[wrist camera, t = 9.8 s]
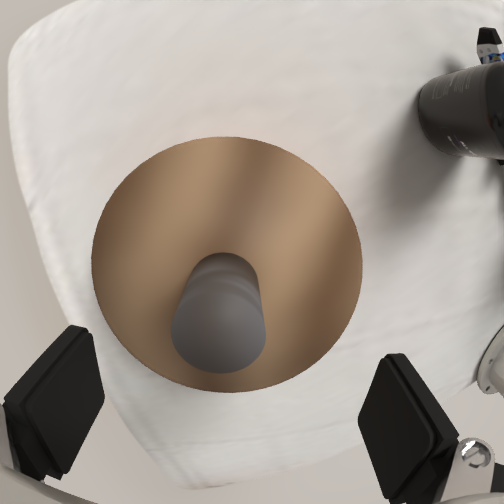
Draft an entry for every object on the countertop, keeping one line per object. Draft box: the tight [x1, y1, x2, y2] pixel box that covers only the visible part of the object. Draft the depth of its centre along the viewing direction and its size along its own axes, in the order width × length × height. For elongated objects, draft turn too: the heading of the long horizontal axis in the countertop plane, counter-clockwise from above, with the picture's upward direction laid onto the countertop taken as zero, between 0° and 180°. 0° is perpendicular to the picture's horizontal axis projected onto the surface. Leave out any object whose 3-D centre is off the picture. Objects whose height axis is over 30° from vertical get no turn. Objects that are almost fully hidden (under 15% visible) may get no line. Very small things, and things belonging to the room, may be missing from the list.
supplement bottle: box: [418, 61, 504, 160], centre depth 14 cm, size 7×7×12 cm
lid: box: [91, 137, 362, 393], centre depth 14 cm, size 15×15×6 cm
